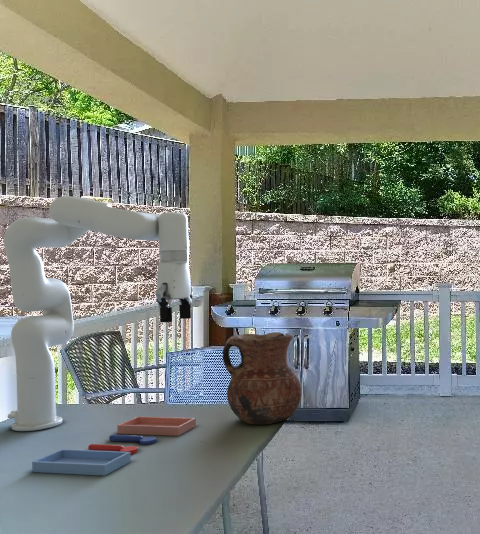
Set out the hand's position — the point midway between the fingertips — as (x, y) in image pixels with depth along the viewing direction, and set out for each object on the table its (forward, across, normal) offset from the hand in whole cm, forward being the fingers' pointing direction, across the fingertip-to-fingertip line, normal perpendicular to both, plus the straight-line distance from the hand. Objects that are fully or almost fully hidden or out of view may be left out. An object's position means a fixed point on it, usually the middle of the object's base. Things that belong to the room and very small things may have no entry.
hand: (176, 320), depth 166 cm
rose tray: (+31, -1, -7) cm, 31 cm away
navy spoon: (+31, +10, -7) cm, 33 cm away
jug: (+31, -15, +19) cm, 39 cm away
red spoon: (+31, +18, -7) cm, 36 cm away
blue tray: (+31, +29, -7) cm, 43 cm away
